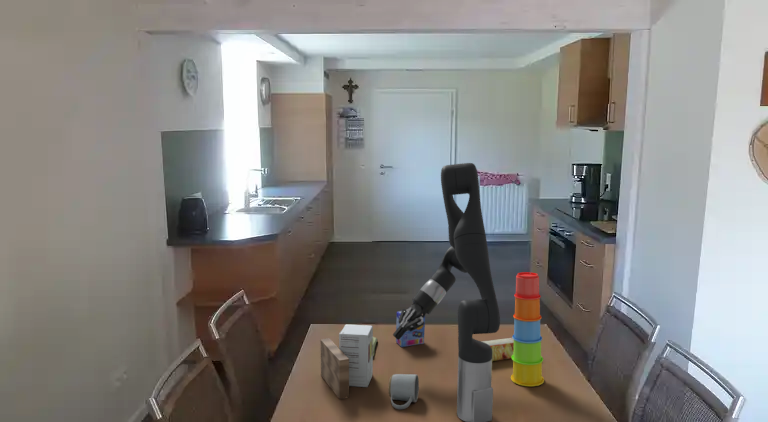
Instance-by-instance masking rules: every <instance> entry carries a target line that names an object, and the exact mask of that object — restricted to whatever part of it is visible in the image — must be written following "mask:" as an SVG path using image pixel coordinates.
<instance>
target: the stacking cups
mask: <svg viewBox="0 0 768 422" xmlns="http://www.w3.org/2000/svg"><path fill="white" fill-rule="evenodd" d="M513 297H514V301H515V303H514V314H513V315H512V316H513V319H514V323H513V324H514V325H513V326H514V327H513V331H514V332H513V335H512V337H511V338H513V339H514V354H513V355H512V357H511V358H510V359H511V360H512V364H513V365H512V366H513V367H512V374H511V376H510V380H511V381H512V382H513V383H514V384H515V385H518V386H522V387H539V386H540V385H543V384H544V383H545V378H544V377H543V366H542V365H543V361H544V357H543V356H542V340H543V336H541V319H543V318H542V315H541V300H540V299H541V297H542V295H540V276H539V274H538V273H535V272H530V271H528V272H527V271H522V272H518V273H517V274H516V276H515V293H514V296H513Z"/></svg>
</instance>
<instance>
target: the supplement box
mask: <svg viewBox="0 0 768 422" xmlns="http://www.w3.org/2000/svg"><path fill="white" fill-rule="evenodd" d="M373 328H374V327H373V325H370V324H369V325H368V324H367V325H366V324H345V325H344V326H343V328H342V330H340V331H339V333H338V348H339V349H340V350H341V351H342V352H343V353H344V354H345V355H346V356H347V357H348V358H349V387H358V388H361V387H362V388H368V387H369V384H370V382H371V379H372V377H373V375H374V374H373V364H374V363H373V359H374V356H373V337H374V335H373V334H374V333H373Z"/></svg>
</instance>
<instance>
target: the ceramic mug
mask: <svg viewBox="0 0 768 422" xmlns="http://www.w3.org/2000/svg"><path fill="white" fill-rule="evenodd" d="M419 386H420V382H419V376H418V374H414V373H413V374H412V373H411V374H410V373H409V374H404V373H394V374H392V375H390V377H389V380H388V388H387V389H388V396H389V398H390V401H391V402H390V403H391V406H392V407H393V408H395V409H396V410H406V409H407V408H408V407H409V406H410V405H411V403H416V402H417V401H418V399H419V393H420V392H419V390H420V387H419ZM393 400H395V401H403V402H405V403H404V404H401V405H399V404H396V403H394V401H393Z"/></svg>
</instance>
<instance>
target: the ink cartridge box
mask: <svg viewBox="0 0 768 422" xmlns="http://www.w3.org/2000/svg"><path fill="white" fill-rule="evenodd" d="M407 309H409V307H408V308H407ZM401 311H402V310H398V311H396V318H395V319H396V323H395V324H396V327H395V329H396V330H397V329H398V327H399V326H400V325H399V322H398V321H399V318H400V315H401ZM402 320H403V319H402ZM423 321H424V322H425V323H424V325H422V326H420V327H419V328H417V329H415V330H413V331H411V332H410V331H406V332H405V333H404V335H403V336H402V337H401V338H400V339H399V340H398V339H396V338H395V342H396V343H397V345H398V346H399V347H400V348H404V347H410V346H416V345H423V344H425V326H426V316H425V317H424V318H423ZM396 330H395V331H396Z"/></svg>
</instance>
